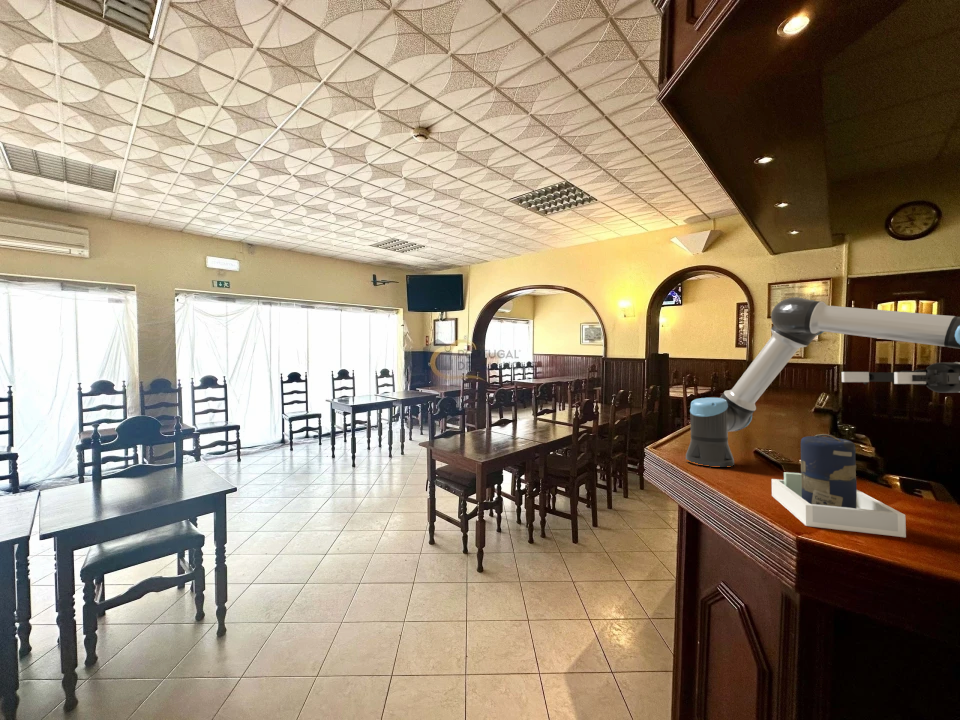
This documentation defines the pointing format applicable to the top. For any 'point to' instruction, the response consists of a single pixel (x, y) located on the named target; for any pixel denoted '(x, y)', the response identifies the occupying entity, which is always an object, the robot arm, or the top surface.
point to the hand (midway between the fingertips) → (867, 377)
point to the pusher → (793, 482)
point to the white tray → (843, 513)
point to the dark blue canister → (828, 471)
